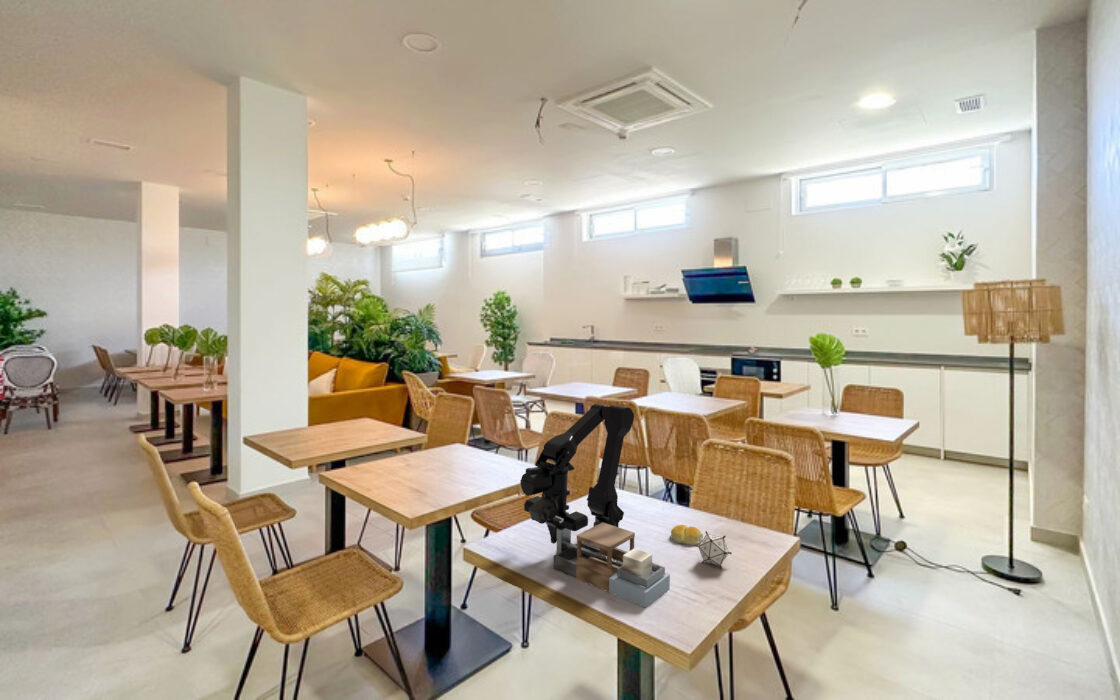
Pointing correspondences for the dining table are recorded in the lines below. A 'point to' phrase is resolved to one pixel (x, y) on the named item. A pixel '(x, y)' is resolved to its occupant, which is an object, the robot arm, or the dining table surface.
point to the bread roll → (686, 535)
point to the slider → (565, 543)
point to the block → (638, 563)
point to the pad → (639, 589)
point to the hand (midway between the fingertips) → (553, 542)
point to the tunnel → (589, 566)
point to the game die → (713, 549)
